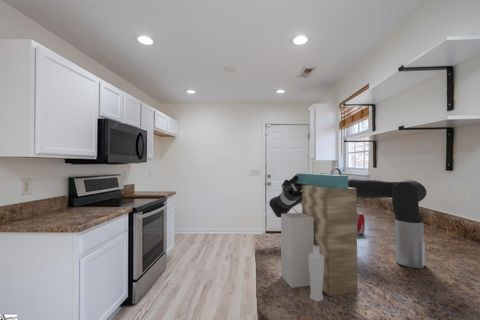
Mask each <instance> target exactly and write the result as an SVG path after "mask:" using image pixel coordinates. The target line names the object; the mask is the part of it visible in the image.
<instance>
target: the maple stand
mask: <svg viewBox="0 0 480 320" xmlns="http://www.w3.org/2000/svg"><path fill="white" fill-rule="evenodd" d="M357 198H358V197H356V188H350V187H348V189H335V188H328V187H321V186H314V185H302V202H301V211H302V212H301V213H304V214H306V215H309V216H311V217H314V245H318V246H319V247H320V248H319V253H320V254H321V255H323V256H324V272H323V286H322V292H324V293H325V294H327V295H328V297H333V296H339V295H345V294H351V293H352V294H353V293H358V291H359V290H358V289H359V287H358V235H357V212H358V210H357V209H358V208H357V207H358V206H357V205H358V204H357Z"/></svg>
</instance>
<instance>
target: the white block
mask: <svg viewBox="0 0 480 320" xmlns="http://www.w3.org/2000/svg"><path fill="white" fill-rule="evenodd" d="M280 221H281V222H280V224H281V225H280V229H281V230H280V232H281V233H280V236H281V240H280V245H281V246H280V247H281V249H280V255H281V256H280V258H281V259H280V260H281V261H280V264H281V265H280V268H281V269H280V270H281V271H280V277H281V278H282V279H283V281H284V282H286V283H287V284H288V286H289V287H290V288H291V289H293V288H300V287H308V286H310V274H309V260H308V255H309V254H310V253H312V252H313V247H312V246H313V245H314V217H311V216H309V215H306V214H304V213H302V212H291V213H290V212H288V213H285V214H281V218H280Z"/></svg>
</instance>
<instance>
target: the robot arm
mask: <svg viewBox="0 0 480 320" xmlns="http://www.w3.org/2000/svg"><path fill="white" fill-rule="evenodd" d="M320 174H327V175H330V174H329V173H327V172H323V173H320ZM298 180H299V178H298V175H297V174H295V175H294V176H292V178H290V179H289V180H288V179H285V180H284V181H283V182H282V184H281V189H282V191H281V193H279V195H277V196H274V197H272V198H271V199H270V200H269V201H268V202H269V204H268V205H269V207H270V208H271V210H272V212H273V213H274V215H275V216H276V218H280V219H281V214H285V213H290V211H291V210H292V208H294V207H296V206H297V205H300V204H302V185H307V184H300V183H297V181H298ZM348 187H350V188H356V197H357V198H363V199H383V198H385V199H386V198H387V199H391V200H392V201H391V204H392V205H391V206H392V211H393V214H394V228H395V229H394V230H395V231H394V235H395V236H394V237H395V247H394V248H395V262H396V263H397V264H399V265H402V266H404V267H407V268H413V269H421V270H423V269H424V268H425V266H426V246H425V245H426V242H425V240H424V215H423V214H422V213H421V212H420V207H419V205H420V204H419V203H420V202H421V201H422V200H424V199H425V198H426V196H427V193H428V192H427V189H426V187H425V186H424V185H423V184H422V183H420V182H419V181H415V180H401V181H399V180H398V181H389V180H388V181H386V180H380V179H372V178H359V177H353V178H350V179H348Z"/></svg>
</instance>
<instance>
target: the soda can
mask: <svg viewBox="0 0 480 320" xmlns="http://www.w3.org/2000/svg"><path fill="white" fill-rule="evenodd" d="M365 222H366V220H365V214H364V212H360V211H357V234H362V235H364V234H365V232H366V231H365V226H366V225H365V224H366V223H365Z"/></svg>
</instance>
